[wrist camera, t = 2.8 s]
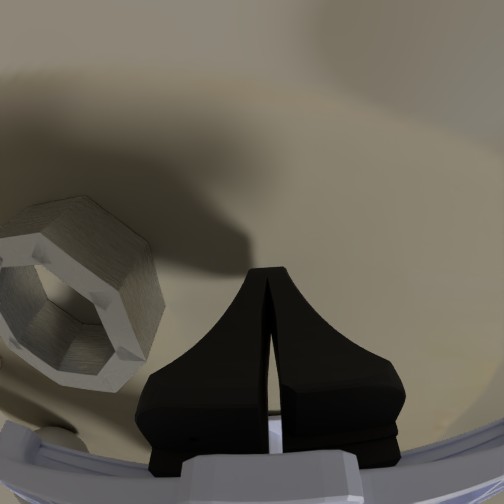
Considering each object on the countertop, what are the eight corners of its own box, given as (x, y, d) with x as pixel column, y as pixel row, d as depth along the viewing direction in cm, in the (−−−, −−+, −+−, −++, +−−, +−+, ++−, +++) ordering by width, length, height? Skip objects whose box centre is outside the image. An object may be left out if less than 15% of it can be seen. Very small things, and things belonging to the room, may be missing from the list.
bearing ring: (176, 342, 16) (163, 396, 13) (53, 337, 16) (29, 379, 13) (135, 187, 12) (97, 224, 9) (-1, 213, 12) (-44, 245, 9)
